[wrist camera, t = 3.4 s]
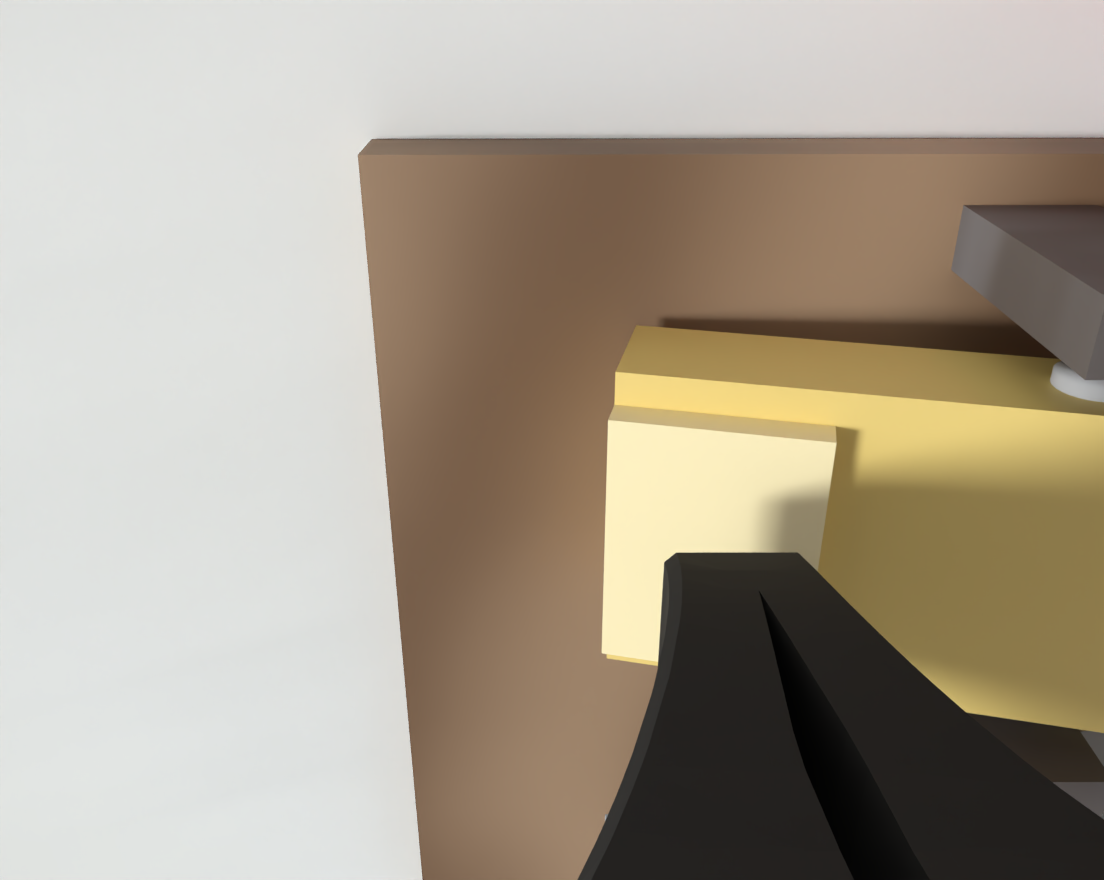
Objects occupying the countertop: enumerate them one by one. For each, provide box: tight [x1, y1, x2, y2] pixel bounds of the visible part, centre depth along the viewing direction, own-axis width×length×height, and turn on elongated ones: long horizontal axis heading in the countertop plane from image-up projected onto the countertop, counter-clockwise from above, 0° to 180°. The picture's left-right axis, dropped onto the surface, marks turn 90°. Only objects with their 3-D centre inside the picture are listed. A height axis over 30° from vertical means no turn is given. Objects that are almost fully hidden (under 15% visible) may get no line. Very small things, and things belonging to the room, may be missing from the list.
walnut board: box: [358, 138, 1104, 880], centre depth 14 cm, size 16×14×4 cm
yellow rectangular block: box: [602, 325, 1104, 733], centre depth 11 cm, size 10×4×2 cm, turn 90°
